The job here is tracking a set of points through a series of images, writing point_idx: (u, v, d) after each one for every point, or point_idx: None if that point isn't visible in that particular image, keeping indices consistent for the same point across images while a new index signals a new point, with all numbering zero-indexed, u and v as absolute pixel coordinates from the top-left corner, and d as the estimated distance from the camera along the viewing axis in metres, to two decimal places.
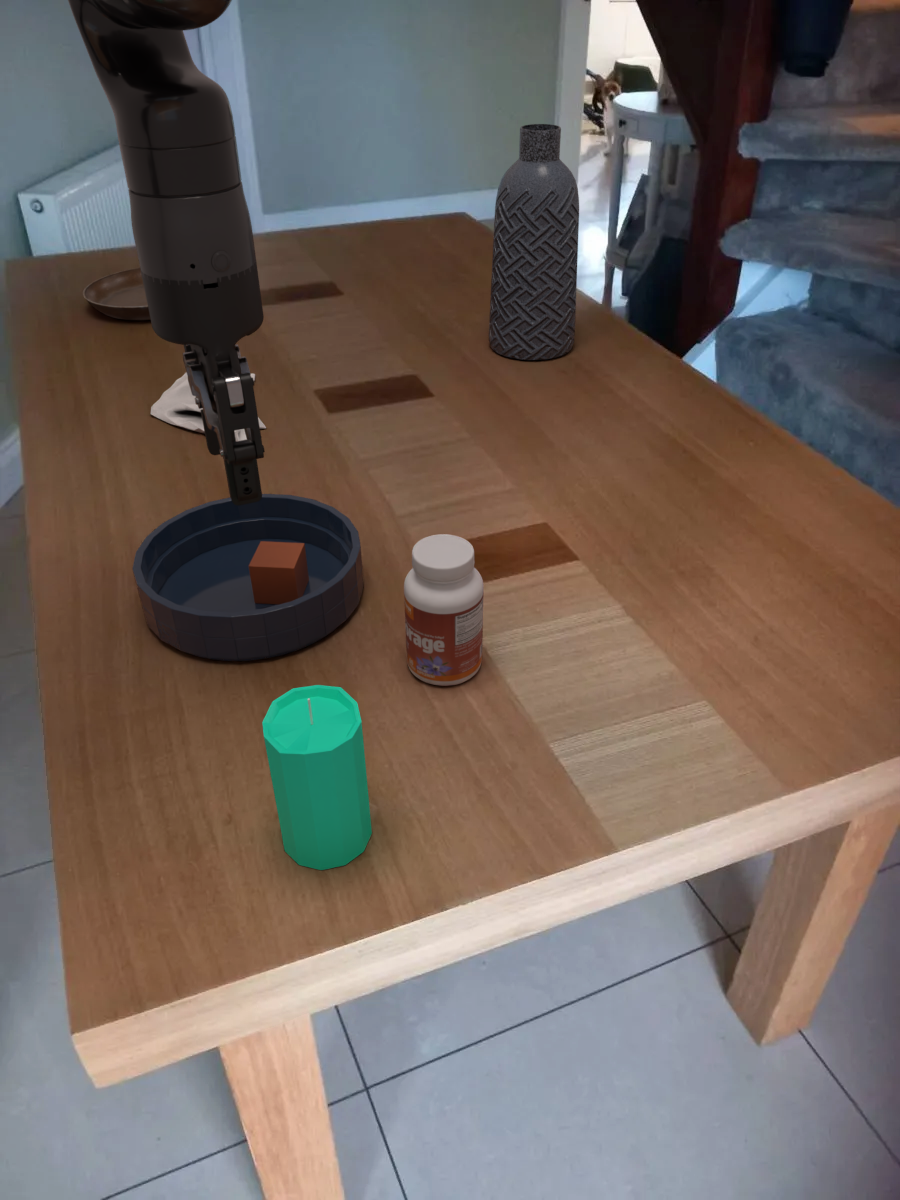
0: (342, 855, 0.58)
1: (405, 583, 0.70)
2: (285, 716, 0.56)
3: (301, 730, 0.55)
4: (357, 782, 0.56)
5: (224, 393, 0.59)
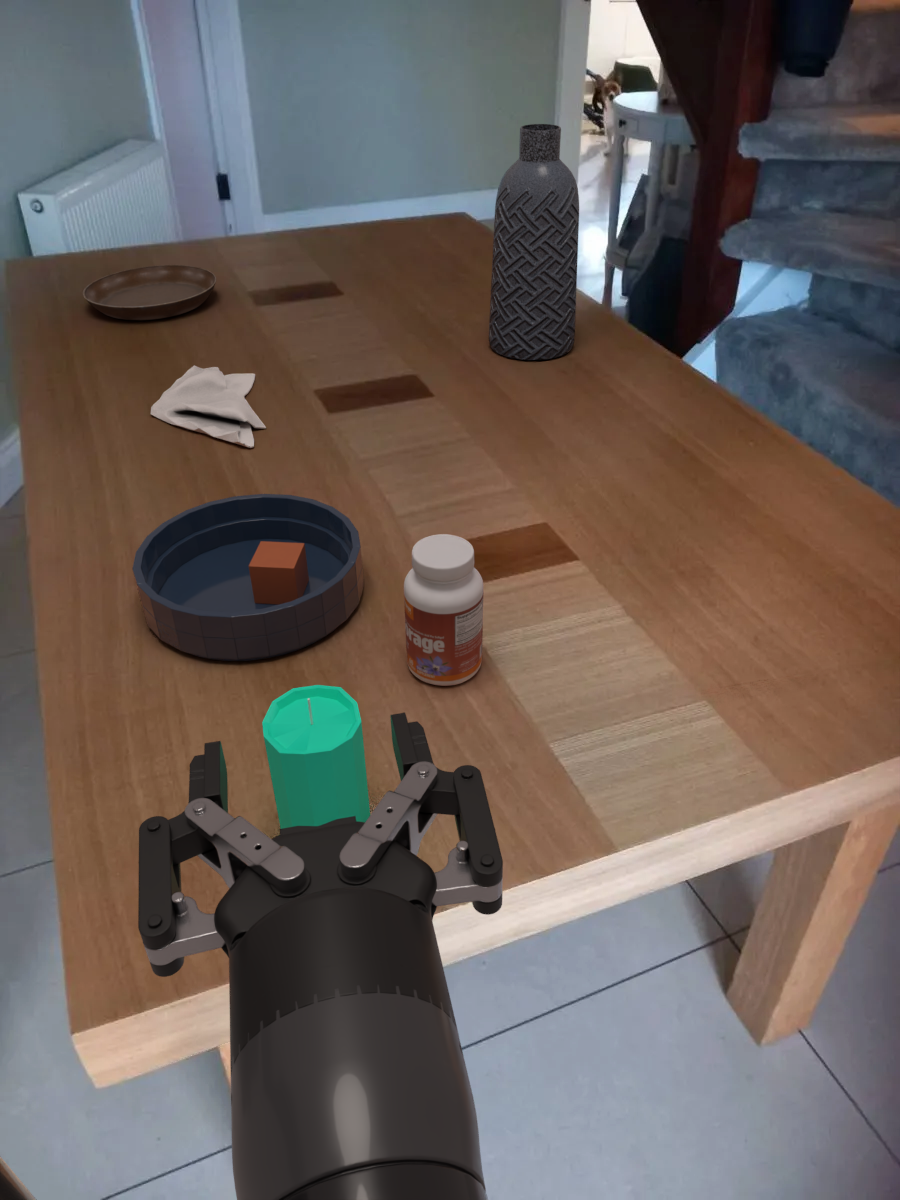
0: None
1: (405, 583, 0.70)
2: (285, 716, 0.56)
3: (301, 730, 0.55)
4: (357, 782, 0.56)
5: None
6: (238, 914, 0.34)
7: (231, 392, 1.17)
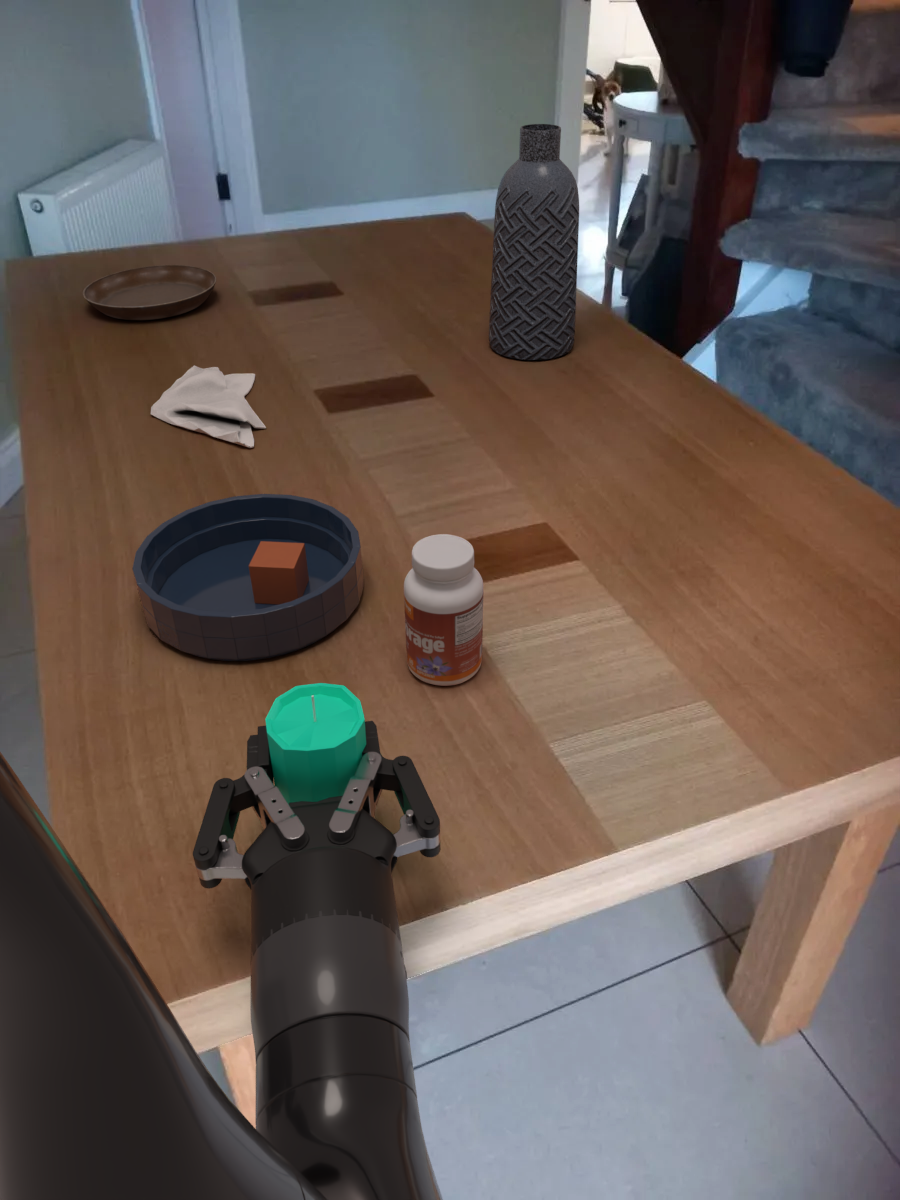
0: None
1: (405, 583, 0.70)
2: (288, 713, 0.56)
3: (304, 727, 0.55)
4: None
5: None
6: (256, 860, 0.49)
7: (231, 392, 1.17)
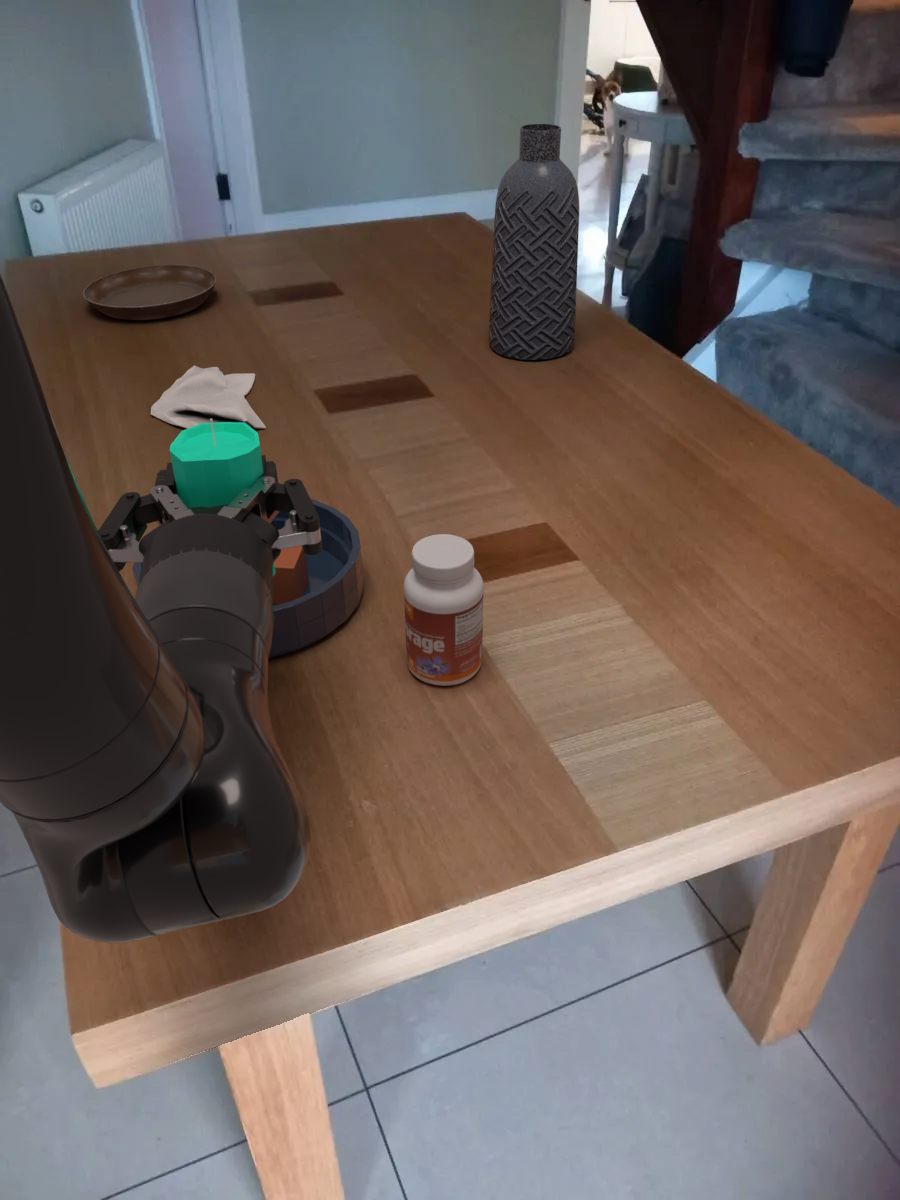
0: None
1: (405, 583, 0.70)
2: (192, 442, 0.62)
3: (205, 450, 0.61)
4: None
5: None
6: (151, 540, 0.55)
7: (231, 392, 1.17)
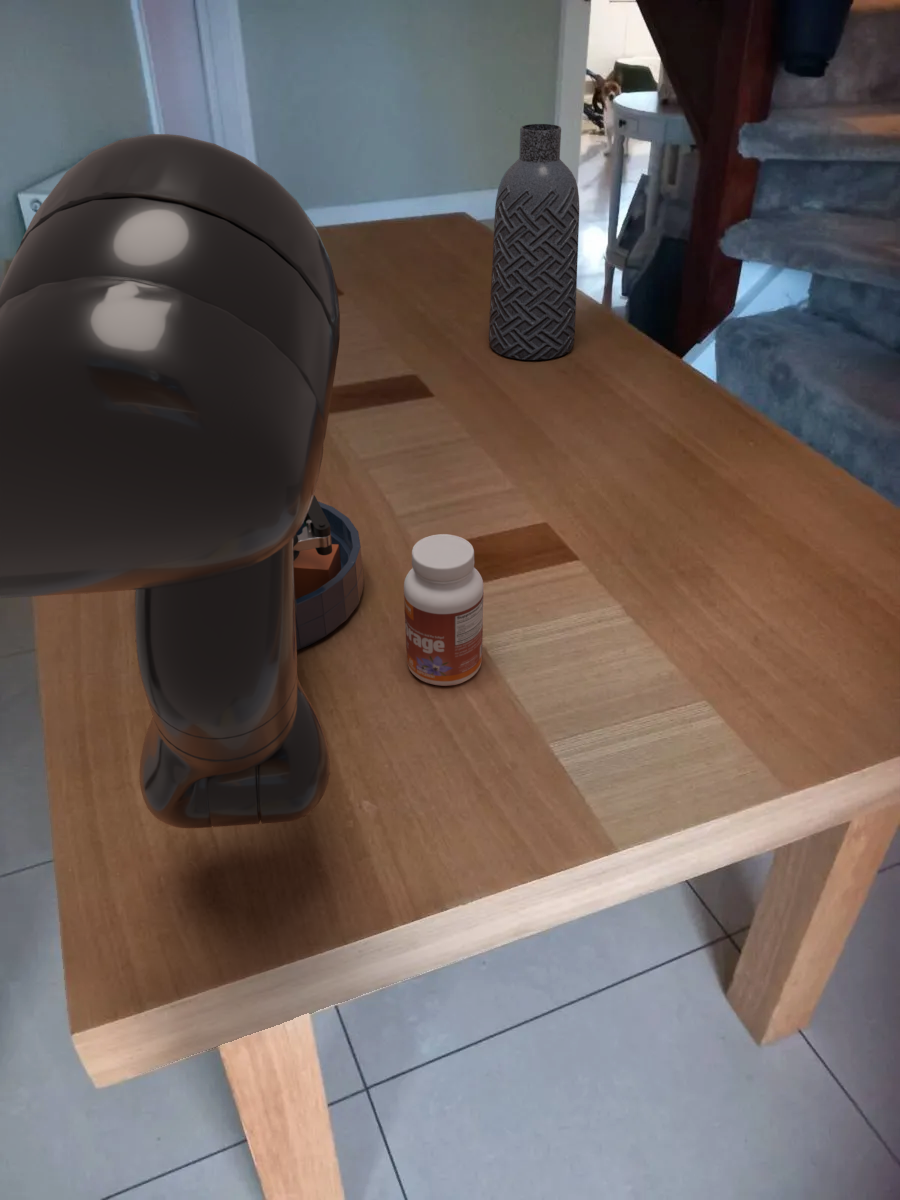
0: None
1: (405, 583, 0.70)
2: None
3: None
4: None
5: None
6: None
7: None
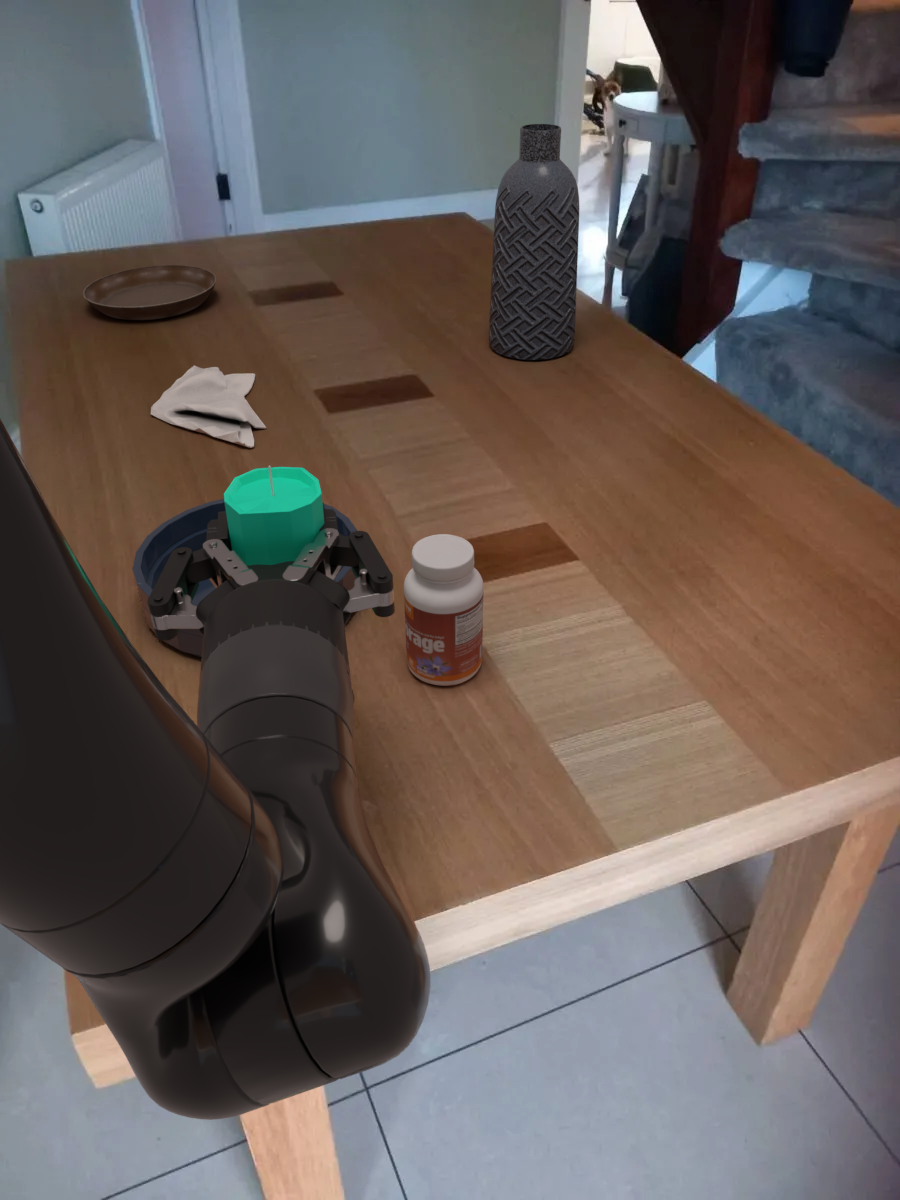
0: None
1: (405, 583, 0.70)
2: (247, 490, 0.57)
3: (262, 500, 0.56)
4: None
5: None
6: (210, 606, 0.50)
7: (231, 392, 1.17)
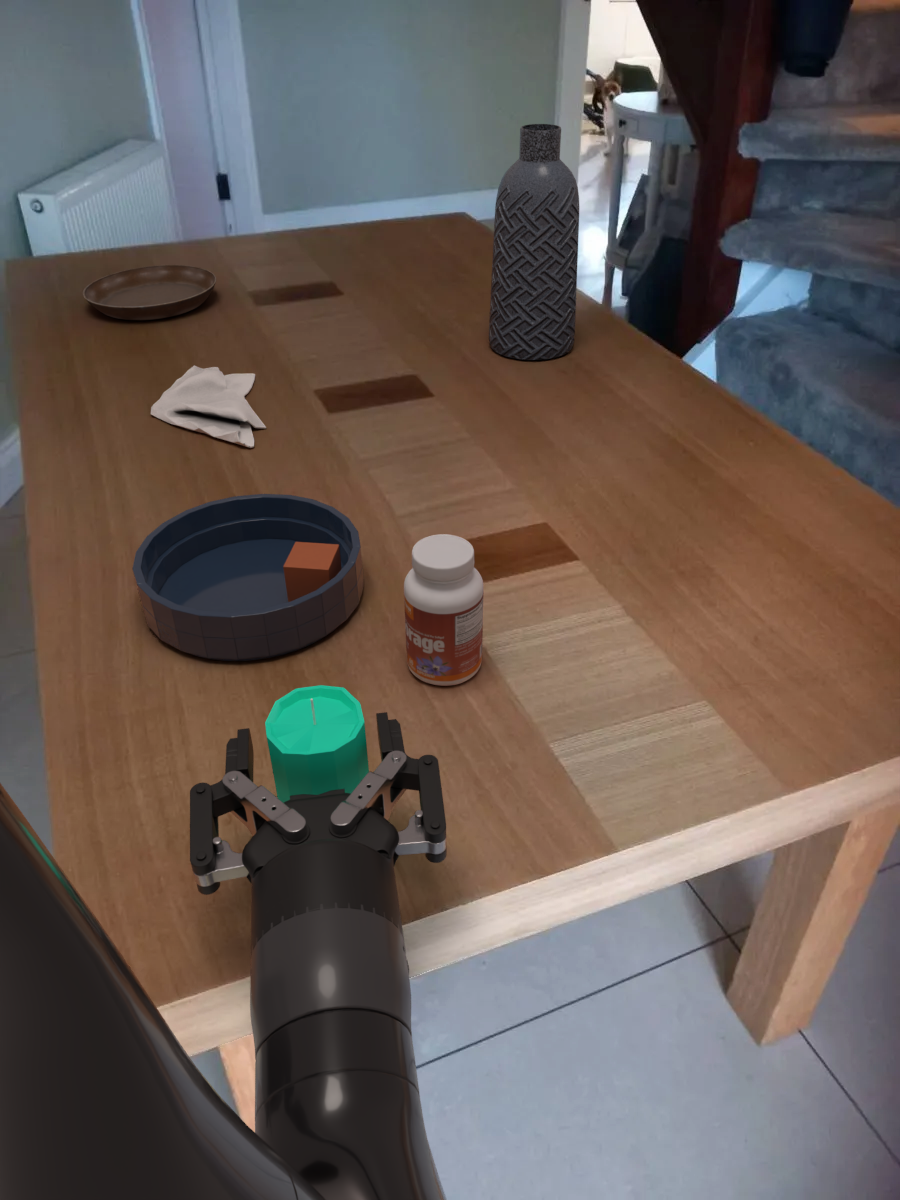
0: None
1: (405, 583, 0.70)
2: (288, 716, 0.56)
3: (304, 730, 0.55)
4: None
5: None
6: (258, 854, 0.49)
7: (231, 392, 1.17)
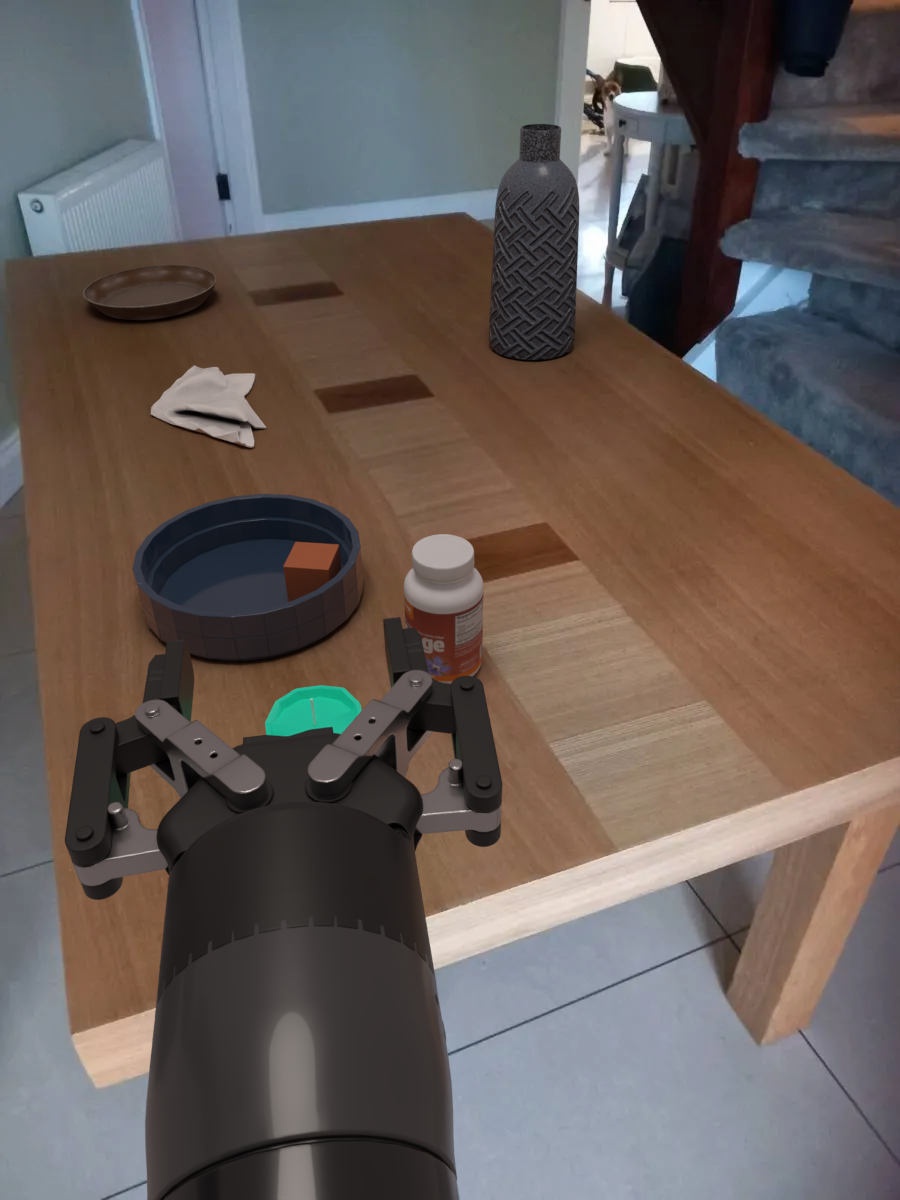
0: None
1: (405, 583, 0.70)
2: (288, 716, 0.56)
3: None
4: None
5: None
6: (184, 830, 0.28)
7: (231, 392, 1.17)
